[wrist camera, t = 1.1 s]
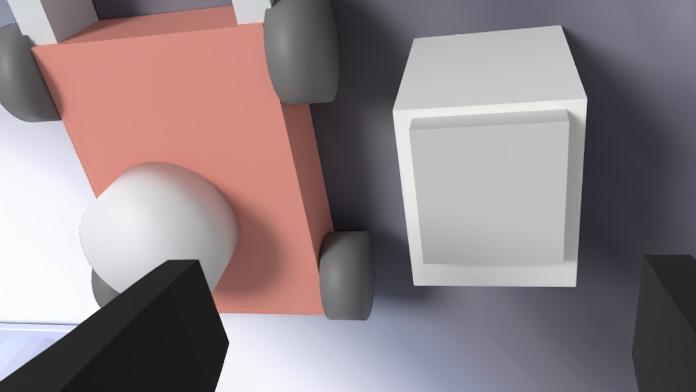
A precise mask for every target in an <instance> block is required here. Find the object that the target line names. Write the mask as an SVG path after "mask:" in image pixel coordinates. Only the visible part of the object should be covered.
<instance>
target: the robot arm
mask: <svg viewBox="0 0 696 392" xmlns="http://www.w3.org/2000/svg"><path fill="white" fill-rule="evenodd" d="M228 346H229V341H228V338H227V335H226V332H225V330H224V327H223V324H222V321H221V319H220V316H219V313H218V310H217V308H216V305H215V302H214V299H213V297H212V294H211V291H210V289H209V286H208V283H207V280H206V278H205V275H204V272H203V269H202V267H201V264H200V261H199V259H182V260H167V261H165V262H164V263H162V264H161V265H159V266H158V267H156V268H155V269H153V270H152V271H150V272H149V273H147V274H146V275H145V276H143V277H142V278H141V279H139V280H138V281H136V282H135V283H134V284H132V285H131V286H130V287H128V288H127V289H126V290H124V291H123V292H122V293H120V294H119V295H118V296H117V297H115V298H114V299H113V300H111V301H110V302H109V303H107V304H106V305H105V306H103V307H102V308H101V309H99V310H98V311H97V312H95V313H94V314H93V315H91V316H90V317H89V318H87V319H86V320H85V321H83V322H82V323H81V324H79V325H42V324H6V323H0V392H215V389H216V386H217V383H218V380H219V377H220V374H221V371H222V367H223V364H224V360H225V357H226V353H227V349H228ZM632 357H633V362H634V368H635V373H636V379H637V384H638V390H639V392H696V260H695V259H694V258H693V257H692V256H691V255H644V259H643V267H642V275H641V284H640V292H639V300H638V308H637V317H636V325H635V333H634V342H633V350H632Z"/></svg>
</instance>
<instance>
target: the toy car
mask: <svg viewBox="0 0 696 392" xmlns="http://www.w3.org/2000/svg"><path fill="white" fill-rule="evenodd" d="M8 3H9V5H10V7H11V9H12V12H13V14H14V16H15V19H16V21H17V23H12V24H8V25H5V26H3V27H2V28H0V103H1V104H2V105H3V106H4V108H5V109H6V110H7V111H8V112H9V113H11V114H12V115H13V116H15V117H16V118H18V119H20V120H23V121H27V122H45V121H60V120H62V121H63V123H64V125H65V128H66V130H67V132H68V135H69V137H70V139H71V141H72V144H73V146H74V148H75V151H76V153H77V155H78V157H79V160H80V162H81V164H82V167H83V169H84V171H85V173H86V176H87V178H88V180H89V183H90V185H91V187H92V189H93V192H94V194H95V196H96V200H95V201H94V202H93V203H92V204H91V205H90V206H89V207H88V208H87V210H86V211H85V212H84V214H83V217H82V219H81V222H80V228H79V236H80V242H81V246H82V249H83V252H84V254H85V256H86V258H87V260H88V262H89V263H90V265H91V266H92V289H93V293H94V297H95V299H96V302H97V303H98V305H99V306H100V308H102V307H103V306H105V305H106V304H107V303H109V302H110V301H111V300H113V299H114V298H115V297H117V296H118V295H119V294H120V293H122V292H123V291H124V290H126V289H127V288H128V287H130V286H131V285H132V284H134V283H135V282H136V281H138V280H139V279H141V278H142V277H143V276H145V275H146V274H147V273H149V272H150V271H152V270H153V269H155V268H156V267H158V266H159V265H161V264H162V263H164V262H165V261H167V260H182V259H199V261H200V264H201V267H202V269H203V272H204V275H205V278H206V280H207V283H208V286H209V289H210V291H211V294H212V297H213V299H214V302H215V305H216V308H217V310H218V313H257V314H306V315H326V317H327V318H328V319H330V320H367V319H368V317H369V315H370V312H371V309H372V303H373V296H374V279H375V273H374V256H373V248H372V243H371V239H370V236H369V234H368V233H367V232H366V231H342V232H334V228H333V223H332V218H331V213H330V208H329V203H328V198H327V193H326V188H325V183H324V178H323V173H322V168H321V162H320V157H319V152H318V147H317V142H316V137H315V132H314V127H313V122H312V117H311V112H310V107H309V104H310V103H325V102H332V101H333V100H334V98H335V96H336V94H337V90H338V85H339V76H340V51H339V40H338V32H337V26H336V21H335V16H334V12H333V9H332V6H331V3H330V0H232V3H233V6H224V7H215V8H206V9H197V10H188V11H179V12H170V13H161V14H152V15H144V16H135V17H126V18H117V19H108V20H98V17H97V14H96V11H95V9H94V6H93V3H92V0H8Z"/></svg>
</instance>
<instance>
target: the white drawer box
mask: <svg viewBox="0 0 696 392" xmlns="http://www.w3.org/2000/svg"><path fill="white" fill-rule="evenodd" d="M586 109H587V97H586V94H585V91H584V88H583V86H582V83H581V80H580V77H579V74H578V72H577V69H576V66H575V63H574V60H573V58H572V55H571V52H570V49H569V47H568V44H567V41H566V38H565V35H564V33H563V30H562V27H561V25H560V26H549V27H538V28H527V29H516V30H505V31H494V32H483V33H472V34H461V35H450V36H439V37H428V38H417V39H414V41H413V44H412V48H411V51H410V54H409V58H408V61H407V64H406V68H405V71H404V74H403V78H402V81H401V85H400V88H399V91H398V95H397V98H396V101H395V105H394V108H393V117H394V126H395V134H396V142H397V150H398V158H399V167H400V175H401V183H402V191H403V199H404V208H405V216H406V224H407V232H408V241H409V249H410V257H411V265H412V273H413V281H414V286H541V287H576V275H577V258H578V242H579V225H580V209H581V192H582V176H583V159H584V142H585V126H586Z"/></svg>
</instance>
